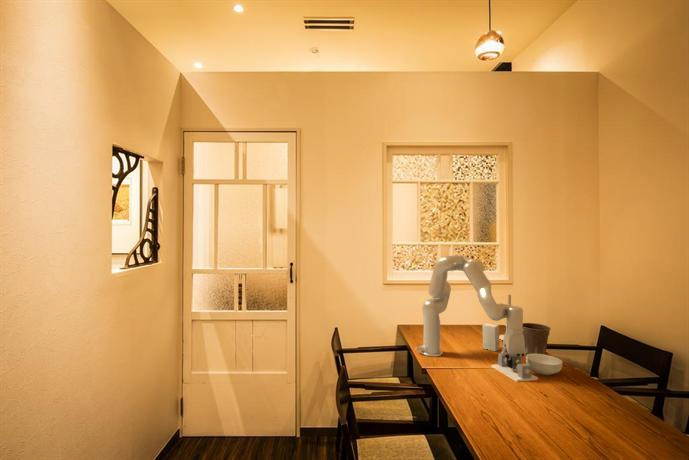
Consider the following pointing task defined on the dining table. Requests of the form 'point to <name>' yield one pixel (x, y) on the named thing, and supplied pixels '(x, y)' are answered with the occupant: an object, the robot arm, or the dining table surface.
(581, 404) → the dining table surface
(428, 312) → the robot arm
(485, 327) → the skincare box
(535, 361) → the cereal bowl
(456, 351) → the dining table surface
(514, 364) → the joint block
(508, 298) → the candlestick
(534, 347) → the plant pot
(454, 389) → the dining table surface
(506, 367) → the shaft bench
